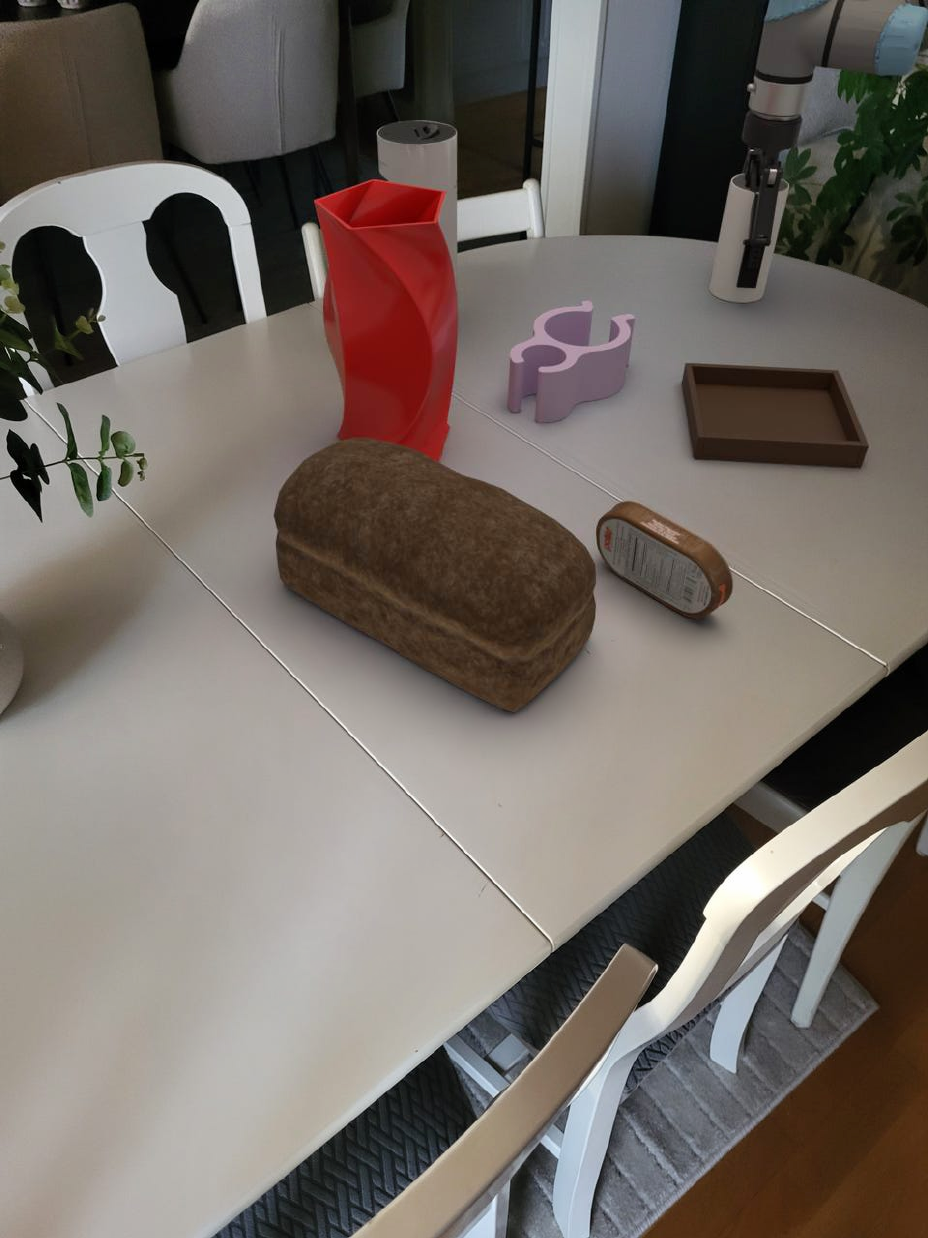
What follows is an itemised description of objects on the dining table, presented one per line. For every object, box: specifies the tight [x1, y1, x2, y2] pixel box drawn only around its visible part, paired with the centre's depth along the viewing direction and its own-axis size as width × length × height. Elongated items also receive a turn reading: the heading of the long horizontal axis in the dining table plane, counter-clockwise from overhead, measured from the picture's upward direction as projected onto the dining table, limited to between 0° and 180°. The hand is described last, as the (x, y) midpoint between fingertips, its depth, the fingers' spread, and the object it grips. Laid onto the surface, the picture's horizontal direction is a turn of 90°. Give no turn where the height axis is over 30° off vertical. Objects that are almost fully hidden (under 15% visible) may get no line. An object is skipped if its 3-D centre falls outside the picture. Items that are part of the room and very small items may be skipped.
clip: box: [507, 300, 636, 424], centre depth 122 cm, size 20×12×7 cm, turn 144°
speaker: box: [376, 119, 459, 307], centre depth 128 cm, size 11×10×26 cm
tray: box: [681, 362, 870, 469], centre depth 117 cm, size 20×18×3 cm
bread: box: [273, 438, 597, 713], centre depth 87 cm, size 15×32×16 cm, turn 53°
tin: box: [595, 500, 734, 619], centre depth 92 cm, size 15×3×8 cm, turn 44°
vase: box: [313, 178, 459, 463], centre depth 104 cm, size 15×14×28 cm
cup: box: [708, 173, 790, 304], centre depth 140 cm, size 8×8×16 cm
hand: (740, 270), depth 143 cm, fingers open, 11 cm apart
